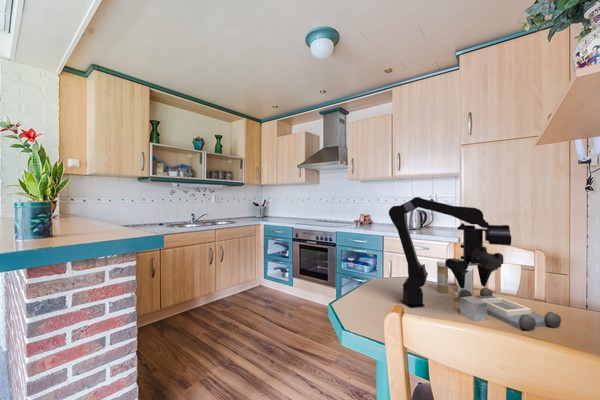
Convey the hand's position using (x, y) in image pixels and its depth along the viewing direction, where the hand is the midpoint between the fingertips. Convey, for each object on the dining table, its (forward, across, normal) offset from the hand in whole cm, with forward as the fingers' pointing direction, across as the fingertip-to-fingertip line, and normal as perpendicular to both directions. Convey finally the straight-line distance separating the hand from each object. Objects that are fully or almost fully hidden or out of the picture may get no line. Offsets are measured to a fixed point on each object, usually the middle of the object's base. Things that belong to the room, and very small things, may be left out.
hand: (473, 287), depth 90 cm
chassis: (+10, +13, 0) cm, 17 cm away
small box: (+10, +18, +20) cm, 29 cm away
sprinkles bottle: (+10, +9, +23) cm, 26 cm away
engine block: (+10, -1, -1) cm, 10 cm away
